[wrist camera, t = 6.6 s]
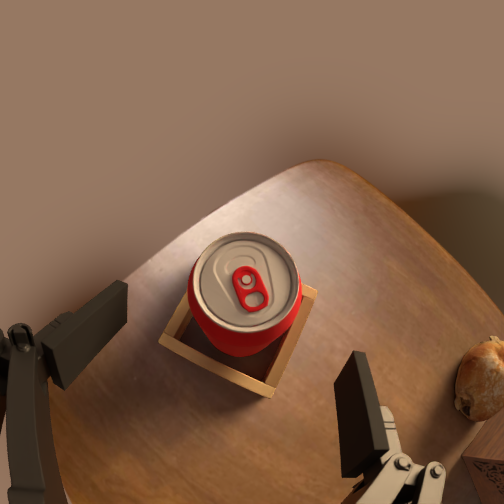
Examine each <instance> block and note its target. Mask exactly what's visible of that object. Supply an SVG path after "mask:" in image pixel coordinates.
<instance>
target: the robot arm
mask: <svg viewBox="0 0 504 504" xmlns="http://www.w3.org/2000/svg"><path fill="white" fill-rule="evenodd" d="M127 293H128V284H127V283H124V282H122V281H119V280H116V281H115V282H114V283H112V284H111V285H110V286H108V287H107V288H106V289H104V290H103V291H102V292H100V293H99V294H98V295H97V296H95V297H94V298H93V299H91V300H90V301H89V302H88V303H86V304H85V305H84V306H83V307H81V308H80V309H79V310H78V311H76V312H75V313H74V314H73V313H72V312H69V311H68V312H66V313H63V314H61V315H59V316H58V317H57V318H55V319H54V321H52V322H50V323H49V325H47V326H45V327H44V328H43V329H42V330H41V331H39V332H38V333H37V334H36V335H34V336H33V334H32V330H31V328H30V327H29V326H28V325H26V324H23V323H18V324H15V325H13V326H11V327H10V328H9V329H8V332H7V333H8V336H9V339H8V338H5V337H4V334H3V331H2V330H1V329H0V434H1V429H2V424H3V420H4V416H5V412H6V434H7V451H8V461H9V469H10V477H11V487H10V488H9V489H8V492H7V494H8V501H9V504H68V502H67V499H66V495H65V492H64V488H63V484H62V480H61V476H60V472H59V468H58V463H57V458H56V453H55V447H54V441H53V434H52V427H51V418H50V408H49V394H48V382H47V379H48V378H49V377H50V376H51V378H52V381H53V383H54V384H55V385H57V386H58V387H60V388H61V389H63V390H64V391H65V390H66V389H67V388H68V386H69V385H70V384H71V383H72V382H73V381H74V380H75V378H76V377H77V376H78V375H79V374H80V373H81V372H82V371H83V369H84V368H85V367H86V366H87V365H88V364H89V363H90V362H91V360H92V359H93V358H94V357H95V356H96V355H97V354H98V353H99V352H100V351H101V349H102V348H103V347H104V346H105V345H106V344H107V343H108V342H109V341H110V340H111V339H112V338H113V337H114V335H115V334H116V333H117V332H118V331H119V330H120V329H121V328H122V327H123V326H124V325H125V324H126V323H127ZM334 391H335V400H336V410H337V420H338V431H339V443H340V456H341V473H342V478H357V477H358V476H359V475H360V474H362V473H363V476H364V479H363V480H361V481H360V482H358V483H357V484H356V485H354V486H353V487H352V488H354V489H353V490H352V492H351V493H350V494H349V495H348V496H347V497H346V498H345V499H344V501H343V502H342V503H341V504H441V500H442V495H443V489H444V484H445V477H446V471H445V468H444V466H443V465H442V464H441V463H439V462H435V461H433V462H430V463H429V464H428V465H426V466H421V465H417V464H413V462H412V460H411V458H410V457H409V456H408V455H406V454H404V453H402V450H401V446H400V442H399V438H398V434H397V430H396V426H395V423H394V419H393V415H392V413H391V411H390V410H389V409H388V407H387V406H380V404H379V400H378V397H377V393H376V389H375V385H374V382H373V378H372V375H371V371H370V368H369V364H368V361H367V358H366V354H365V353H364V352H359V351H354V350H353V352H352V354H351V355H350V357H349V359H348V361H347V362H346V364H345V366H344V367H343V369H342V371H341V372H340V374H339V376H338V377H337V379H336V381H335V382H334Z"/></svg>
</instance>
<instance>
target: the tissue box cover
mask: <svg viewBox="0 0 504 504" xmlns="http://www.w3.org/2000/svg"><path fill="white" fill-rule="evenodd" d="M462 457H463V460H464V462H465V464H466V466H467V468H468V471H469V473H470V475H471V478H472V480H473V482H474V485H475V487H476V490H477V492H478V495H479V497H480V500H481V503H482V504H504V407H503V408H502V409H501V410H500V411H499V412H498V413H497V414H495V415H494V416H493V417H491V418H490V419H488V420H487V421H486V422H485V424H484V426H483V427H482V428H481V430H480V431H479V433H478V434H477V436H476V437H475V438H474V440H473V441H472V442H471V444H470V445H469V446H468V448H467V449H466V450H465V452H464V453H463V454H462Z"/></svg>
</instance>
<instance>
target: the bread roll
mask: <svg viewBox="0 0 504 504" xmlns="http://www.w3.org/2000/svg"><path fill="white" fill-rule="evenodd" d="M489 338H490V340H491V341H486V342H480V343H479V344H476V345H474V346H473V347H472V348H470V350H469V351H468V352H467V353H466V355H465V356H464V357H463V359H462V362H461V364H460V367H459V369H458V375H457V379H456V384H455V394H456V398H455V400H454V404H455V407H456V408H457V410H459V409H460V410H461V412H462V413H463V414H464V415H465V416H466V417H467V418H468V419H470V420H472V421H476V422H480V421H485V420H488V419H490V418H491V417H493V416H494V415H495V414H497V413H498V412H499V411H500V410H501V409H502V408H503V407H504V340H503V341H500V340H499V338H498V337H494V336H491V337H489Z"/></svg>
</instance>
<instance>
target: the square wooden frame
mask: <svg viewBox="0 0 504 504" xmlns="http://www.w3.org/2000/svg"><path fill="white" fill-rule="evenodd" d="M301 285H302V299H301V305H300V308H299V311H298V314H297V316H296V318H295V320H294V321H293V323H292V324H291V326H290V327H289V328H288V329H287V330H286V331H285V333H284V335H283V337H282V340H281V342H280V344H279V346H278V348H277V350H276V352H275V355H274V357H273V359H272V361H271V363H270V365H269V367H268V369H267V371H266V373H265V375H264V377H263V379H262V381H261V382H260V381H258V380H256V379H253V378H251V377H249V376H247V375H245V374H243V373H240V372H238V371H236V370H234V369H232V368H230V367H228V366H226V365H224V364H222V363H220V362H218V361H216V360H214V359H212V358H210V357H208V356H206V355H204V354H202V353H200V352H198V351H197V350H195V349H193V348H191V347H189V346H187V345H185V344H184V343H182V342H180V341H179V340H180V338H181V336H182V335H183V333H184V331H185V329H186V327H187V325H188V324H189V322H190V320H191V318H192V316H193V314H192V312H191V310H190V307H189V303H188V297H187V291H186V293H185V294H184V296H183V298H182V300H181V301H180V303H179V305H178V307H177V308H176V310H175V312H174V314H173V315H172V317H171V319H170V321H169V322H168V324H167V326H166V328H165V330H164V332H163V333H162V335H161V337H160V339H159V340H158V343H160V344H161V345H163V346H165V347H166V348H168V349H170V350H172V351H173V352H175V353H177V354H179V355H180V356H182V357H184V358H186V359H188V360H189V361H191V362H193V363H195V364H197V365H199V366H201V367H203V368H204V369H206V370H208V371H210V372H212V373H214V374H216V375H218V376H220V377H222V378H224V379H226V380H228V381H231V382H233V383H235V384H237V385H239V386H241V387H243V388H246V389H248V390H250V391H252V392H255V393H257V394H259V395H262V396H264V397H266V398H269V399H271V397H272V395H273V393H274V391H275V388H276V387H277V385H278V383H279V381H280V379H281V377H282V374H283V372H284V370H285V368H286V366H287V364H288V362H289V359H290V357H291V355H292V353H293V350H294V348H295V346H296V344H297V341H298V339H299V337H300V335H301V332H302V330H303V328H304V325H305V323H306V320H307V318H308V316H309V313H310V311H311V308H312V306H313V303H314V300H315V298H316V296H317V293H318V291H317V290H315V289H313V288H311V287H309V286H306V285H304V284H302V283H301Z"/></svg>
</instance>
